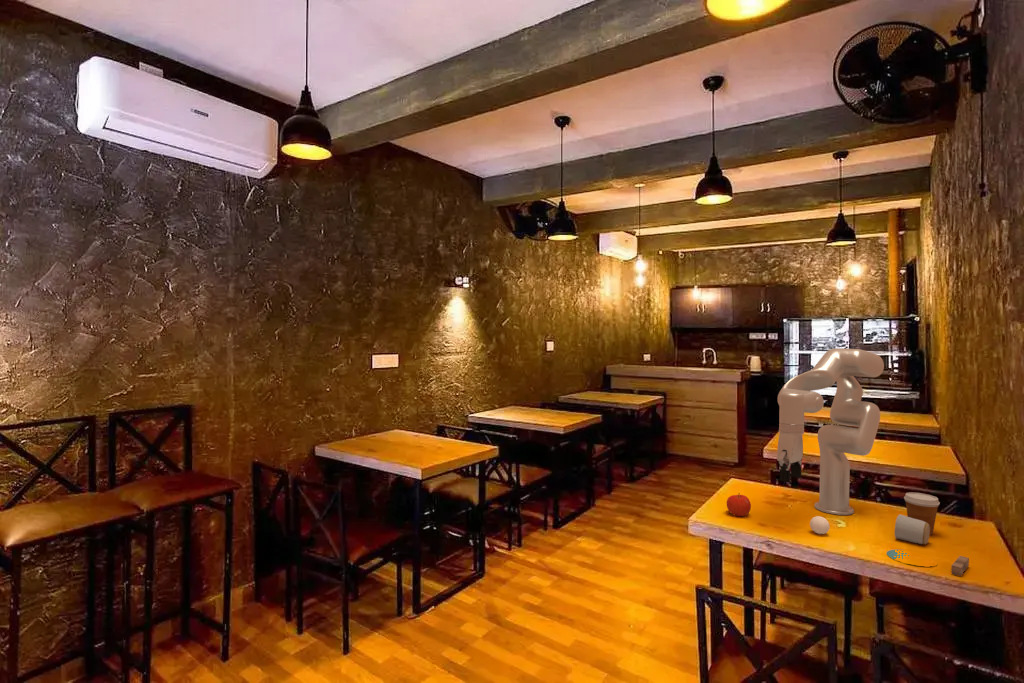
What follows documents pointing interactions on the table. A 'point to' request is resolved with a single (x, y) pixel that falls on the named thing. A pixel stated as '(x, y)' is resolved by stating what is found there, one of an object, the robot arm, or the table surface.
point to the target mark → (894, 554)
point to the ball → (819, 525)
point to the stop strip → (960, 565)
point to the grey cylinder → (912, 530)
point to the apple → (738, 505)
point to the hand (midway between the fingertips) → (790, 479)
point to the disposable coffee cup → (922, 508)
